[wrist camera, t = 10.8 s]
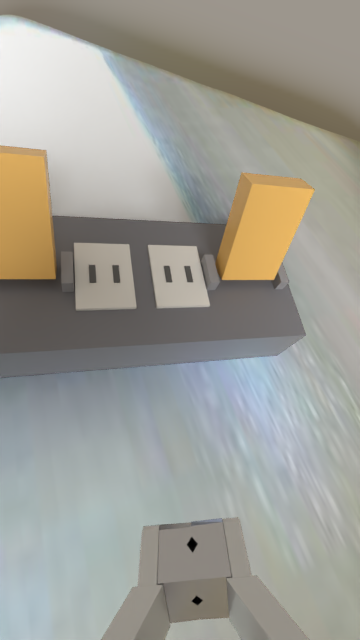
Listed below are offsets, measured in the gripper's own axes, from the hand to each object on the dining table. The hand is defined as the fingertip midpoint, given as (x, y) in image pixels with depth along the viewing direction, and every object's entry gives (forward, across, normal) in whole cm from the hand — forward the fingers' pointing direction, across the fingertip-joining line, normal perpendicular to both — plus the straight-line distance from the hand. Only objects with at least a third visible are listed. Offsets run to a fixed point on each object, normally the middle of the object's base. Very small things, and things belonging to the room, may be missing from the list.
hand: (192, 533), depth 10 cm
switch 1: (+16, +11, -6) cm, 20 cm away
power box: (+22, +4, 0) cm, 22 cm away
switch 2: (+21, -6, -3) cm, 22 cm away
